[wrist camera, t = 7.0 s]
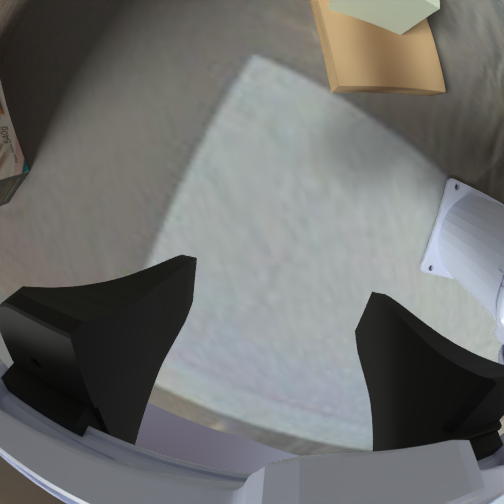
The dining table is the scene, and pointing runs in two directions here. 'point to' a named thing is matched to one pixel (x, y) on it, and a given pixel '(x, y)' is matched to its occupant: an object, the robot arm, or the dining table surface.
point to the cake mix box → (9, 156)
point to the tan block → (377, 55)
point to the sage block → (387, 12)
